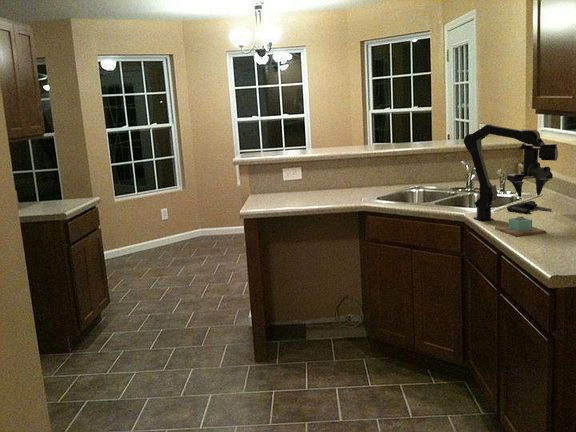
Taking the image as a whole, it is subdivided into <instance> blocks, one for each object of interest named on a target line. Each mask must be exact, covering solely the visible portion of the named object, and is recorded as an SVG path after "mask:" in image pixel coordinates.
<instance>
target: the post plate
mask: <svg viewBox="0 0 576 432" xmlns="http://www.w3.org/2000/svg"><path fill="white" fill-rule="evenodd" d="M516 218H517V220H519V221H522V220H524V218H525V216H520V215H519V216H517V217H516ZM494 230H495V231H499V232H500V233H501V232H502V233H505V234H508V235H509V236H512V237H523V236H533V235H534V236H535V235H541V234H542V235H543V234H547V230H544V229H541V228H538V227H535V226H532V230H525V231H516V230H513V229H510V228H509V225H502V226H495V227H494Z"/></svg>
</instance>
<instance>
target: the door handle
mask: <svg viewBox="0 0 576 432" xmlns="http://www.w3.org/2000/svg"><path fill="white" fill-rule="evenodd" d="M534 209H535V210H536V211H540V212H547V211H551V212H552V208H549V207H546V206H540V205H538V204H537V203H536V201H534V200H529V201H528V200H527V201H523V202H519V203H516V204H511V205H510V204H509V205H508V206H507V207H506V210H507V211H508V212H512V213H513V212H514V213H518V214H522V215H523V214H524V215H529V214H530V213H531V211H534Z"/></svg>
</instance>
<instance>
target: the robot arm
mask: <svg viewBox="0 0 576 432" xmlns="http://www.w3.org/2000/svg"><path fill="white" fill-rule="evenodd" d="M489 135H493V136H498V137H503V138H509V139H513V140H517V141H519V142H521V143H522V144H521V146H519V147H518V150H523V158H522V159H523V160H522V161H521V162H520V163H521V165H522V170H521V171H520V173H516V172H515V173H508V175H507V177H506V180H507V181H509V183H511V184H512V185H513V187H514V189H515V192H516V194H517V196H518V198H521V197H522V192H523V190H522V189H523V188H522V187H523V184H524V183H525V182H524V181H523V180H526V179H527V180H529V179H535V189H536V190H535V191H536V192H535V193H536V195H537V196H540V195H541V193H542V191H543V188H544V186H545V184H546V183H547V182H549V181H550V180H553V173H552V171H551V167H550V166H544V167H542V166H541V162H539V159H540V160H541V161H554V162H555V161H557V160H558V157H559V149H558V144H557V143H552V144H550V143H549V144H545V143H546V142H544V141H543V139H542V138H541V134H540V132H539V131H538V130H536V129H517V128H511V127H504V126H499V125H493V124H491V123H490V124H485V125H484V126H482V127H481V128H479V129H478V130H476V131H475V132H472V133H470V134H467V135H465V136H464V138H463V144H464V146H465V148H466V150H467V151H468V152H469V154H470V156H471V160H472V163H473V167H474V170H475V173H476V177H477V180H478V182H479V189H478V190H479V192H478V195H479V198H478V199H477V200H476V201H474V206H475V208H476V217H475V216H474V217H473V219H474V220H477V221H479V222H485V221H494V218H492V207H491V206H492V205H493V203H494V202H495V201H496V200H497V199H498V195H499V192H498V190H497V185H496V184H492V183H491V181H490V178H489V175H488V171H487V168H486V165H485V164H486V163H485V160H484V157H483V156H484V155H483V153H482V147H483V145H482V144H483V142H482V141H483V139H485V138H486V137H488V136H489Z"/></svg>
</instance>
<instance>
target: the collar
mask: <svg viewBox="0 0 576 432" xmlns="http://www.w3.org/2000/svg"><path fill="white" fill-rule="evenodd" d="M508 226H509V228H510V229H513V230H516V231H525V230H532V227H533V219H530V218H526V217H524V220H522V221H519V220H517V217H511V218H510V217H509V218H508Z"/></svg>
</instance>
